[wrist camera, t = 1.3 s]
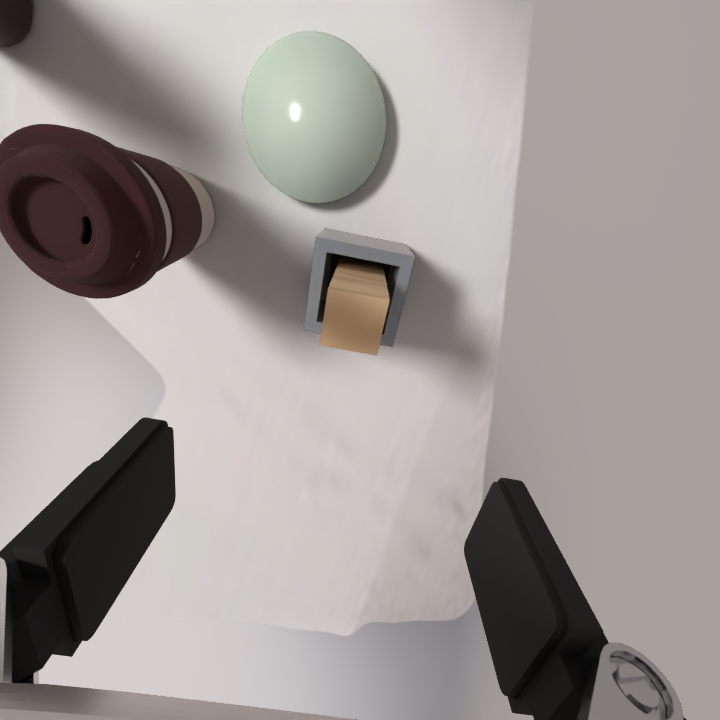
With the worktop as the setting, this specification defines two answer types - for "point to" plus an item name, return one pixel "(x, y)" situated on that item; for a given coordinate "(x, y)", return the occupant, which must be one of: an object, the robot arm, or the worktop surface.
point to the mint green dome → (314, 117)
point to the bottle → (14, 21)
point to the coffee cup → (96, 210)
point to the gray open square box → (362, 249)
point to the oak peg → (355, 306)
